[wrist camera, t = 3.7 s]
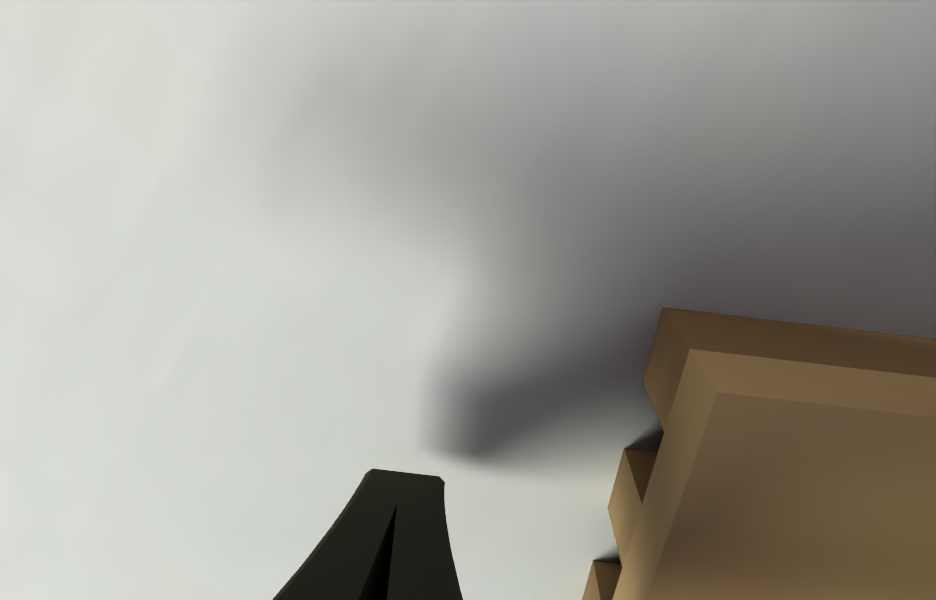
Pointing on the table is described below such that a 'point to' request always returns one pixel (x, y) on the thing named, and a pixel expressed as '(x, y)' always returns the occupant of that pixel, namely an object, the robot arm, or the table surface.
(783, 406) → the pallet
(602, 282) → the table surface
